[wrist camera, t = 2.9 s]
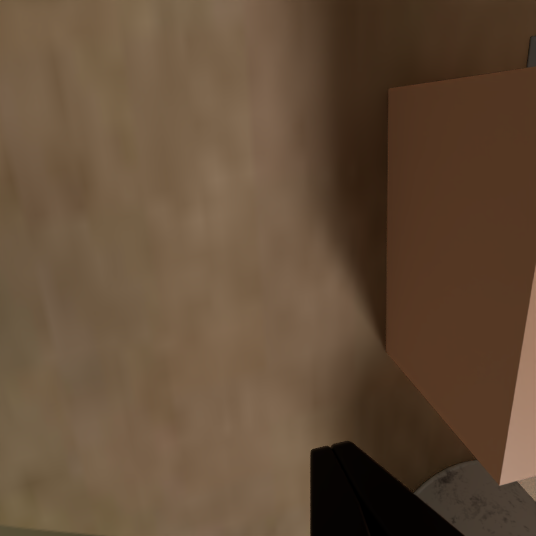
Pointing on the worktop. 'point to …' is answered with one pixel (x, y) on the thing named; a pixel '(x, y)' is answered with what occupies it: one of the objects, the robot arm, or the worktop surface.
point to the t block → (467, 258)
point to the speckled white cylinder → (479, 502)
